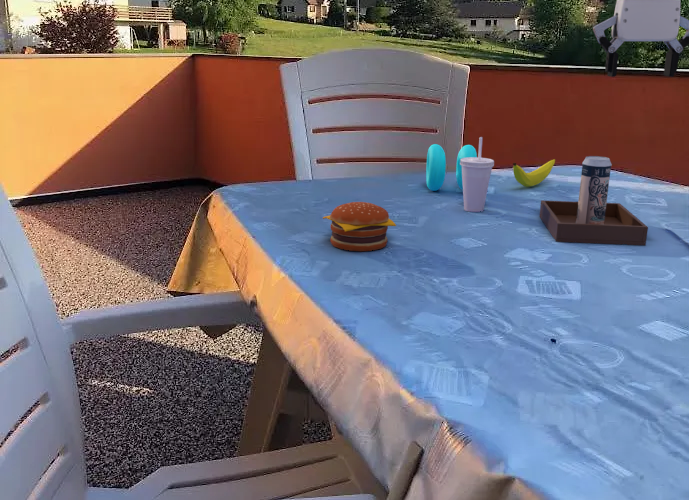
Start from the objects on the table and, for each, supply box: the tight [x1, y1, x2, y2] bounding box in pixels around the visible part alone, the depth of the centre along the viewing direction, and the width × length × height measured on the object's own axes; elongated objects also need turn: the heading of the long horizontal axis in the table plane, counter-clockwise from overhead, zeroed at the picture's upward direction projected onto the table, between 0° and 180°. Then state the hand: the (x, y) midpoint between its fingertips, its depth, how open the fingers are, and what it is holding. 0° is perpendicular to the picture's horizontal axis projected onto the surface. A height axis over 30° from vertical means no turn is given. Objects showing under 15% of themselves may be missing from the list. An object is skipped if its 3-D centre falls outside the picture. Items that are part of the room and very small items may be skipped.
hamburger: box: [322, 201, 397, 252], centre depth 112 cm, size 9×10×7 cm
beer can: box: [576, 155, 613, 224], centre depth 122 cm, size 5×5×12 cm
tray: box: [539, 199, 649, 246], centre depth 123 cm, size 14×17×3 cm
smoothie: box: [460, 136, 495, 213], centre depth 135 cm, size 6×6×14 cm
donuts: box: [425, 143, 478, 192], centre depth 152 cm, size 10×10×10 cm
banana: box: [512, 158, 556, 188], centre depth 159 cm, size 3×19×6 cm, turn 137°
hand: (640, 76), depth 124 cm, fingers open, 9 cm apart
